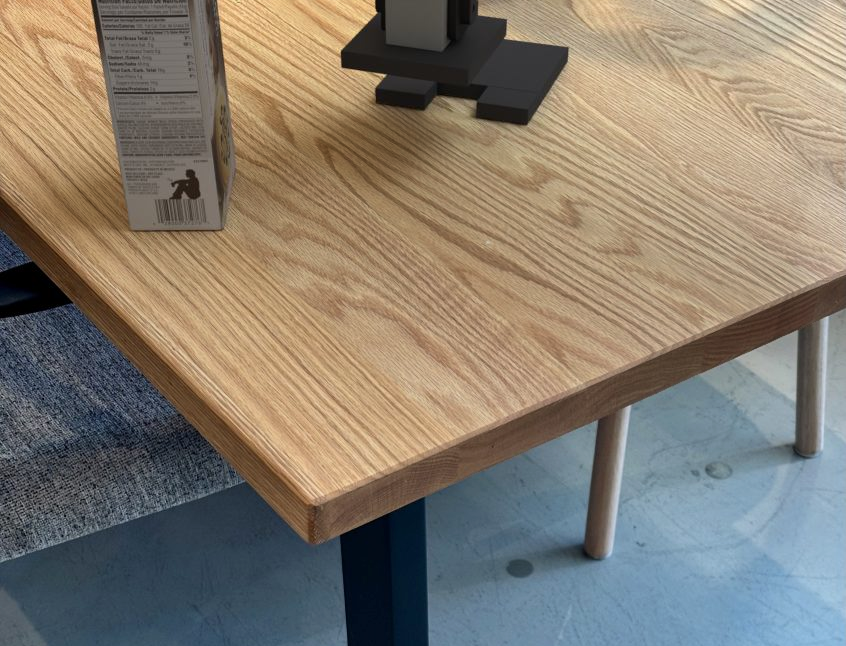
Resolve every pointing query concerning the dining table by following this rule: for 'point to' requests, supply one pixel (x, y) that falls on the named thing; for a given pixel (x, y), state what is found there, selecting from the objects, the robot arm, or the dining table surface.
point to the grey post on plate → (423, 44)
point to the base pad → (490, 83)
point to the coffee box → (168, 110)
